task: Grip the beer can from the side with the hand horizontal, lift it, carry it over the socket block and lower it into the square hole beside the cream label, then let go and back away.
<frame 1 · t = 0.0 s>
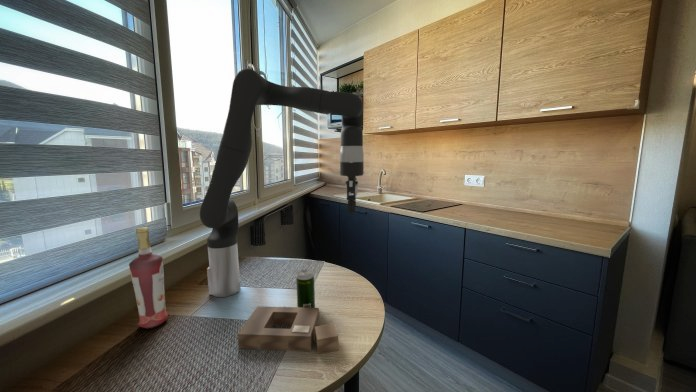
hand: (352, 210, 85), 29 cm above the table, tool pointing down, fingers open, 8 cm apart
socket block: (282, 333, 69), on the table
walnut block: (326, 345, 65), on the table
liquor: (154, 324, 74), on the table
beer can: (306, 309, 80), on the table
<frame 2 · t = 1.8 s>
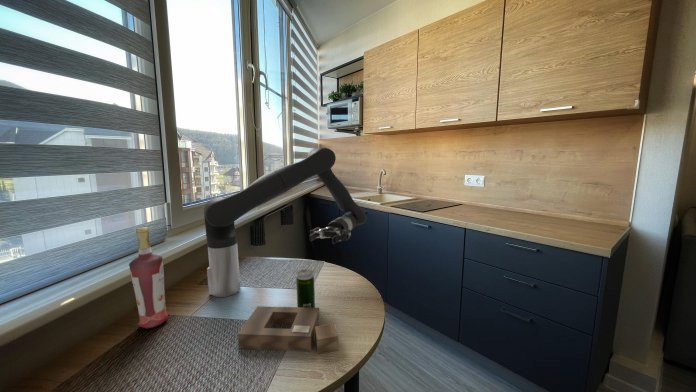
hand: (321, 239, 88), 19 cm above the table, tool horizontal, fingers open, 8 cm apart
nothing on the table moved.
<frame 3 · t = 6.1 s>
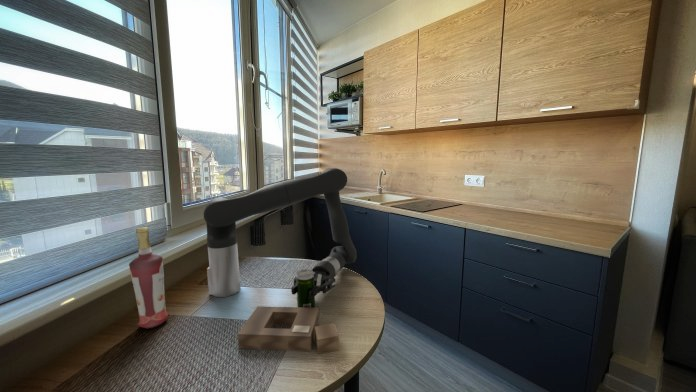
hand: (301, 293, 77), 7 cm above the table, tool horizontal, fingers closed on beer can, 5 cm apart
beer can: (306, 309, 80), on the table, touching gripper
everything else where it was.
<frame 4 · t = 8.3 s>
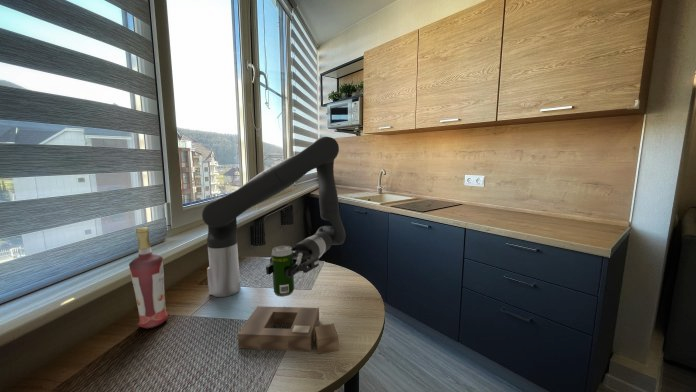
hand: (277, 272, 66), 18 cm above the table, tool horizontal, fingers closed on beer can, 5 cm apart
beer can: (284, 292, 69), point 11 cm above the table, touching gripper
everything else where it was.
when the fingers open (10 cm above the table, at t = 10.4 s): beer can drops 3 cm, resting in socket block.
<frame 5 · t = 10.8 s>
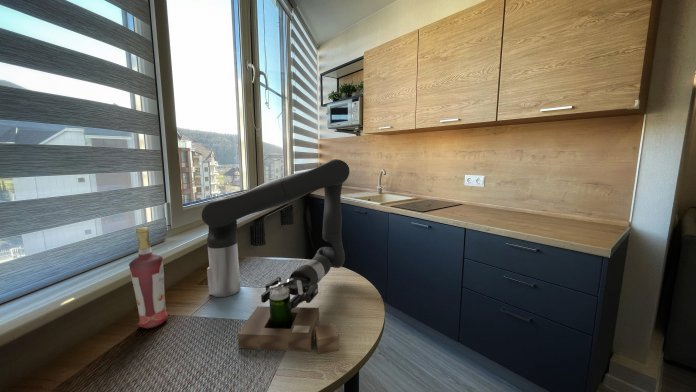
hand: (275, 302, 66), 10 cm above the table, tool horizontal, fingers open, 8 cm apart
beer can: (282, 333, 69), resting in socket block
everything else where it was.
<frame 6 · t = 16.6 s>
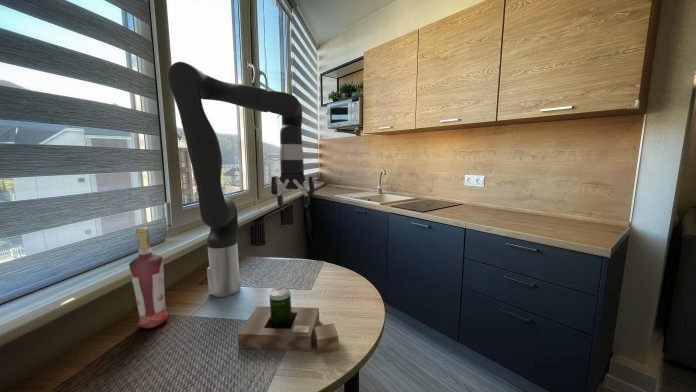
hand: (293, 206, 88), 30 cm above the table, tool pointing down, fingers open, 8 cm apart
nothing on the table moved.
at the end: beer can 0.2 cm off-centre on the socket block, point 0.0 cm above the socket block's base; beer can tilted 0°; the gripper is holding nothing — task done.
